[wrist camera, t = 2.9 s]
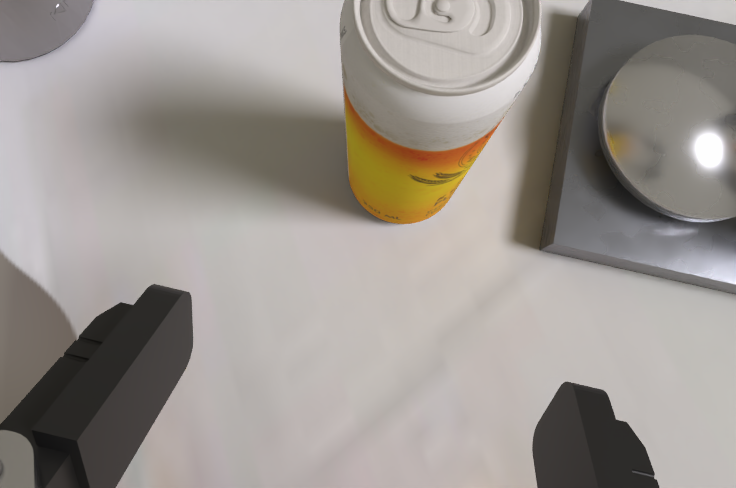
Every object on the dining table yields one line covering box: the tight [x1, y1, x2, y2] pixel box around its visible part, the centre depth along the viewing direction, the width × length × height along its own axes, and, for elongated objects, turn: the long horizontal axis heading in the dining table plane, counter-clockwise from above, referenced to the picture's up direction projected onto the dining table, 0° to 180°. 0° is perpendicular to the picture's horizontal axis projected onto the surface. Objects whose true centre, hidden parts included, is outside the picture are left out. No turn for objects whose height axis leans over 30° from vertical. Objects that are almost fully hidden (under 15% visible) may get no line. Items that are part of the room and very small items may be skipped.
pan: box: [598, 35, 736, 222], centre depth 26 cm, size 10×10×1 cm
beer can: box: [340, 0, 541, 224], centre depth 21 cm, size 6×6×15 cm
